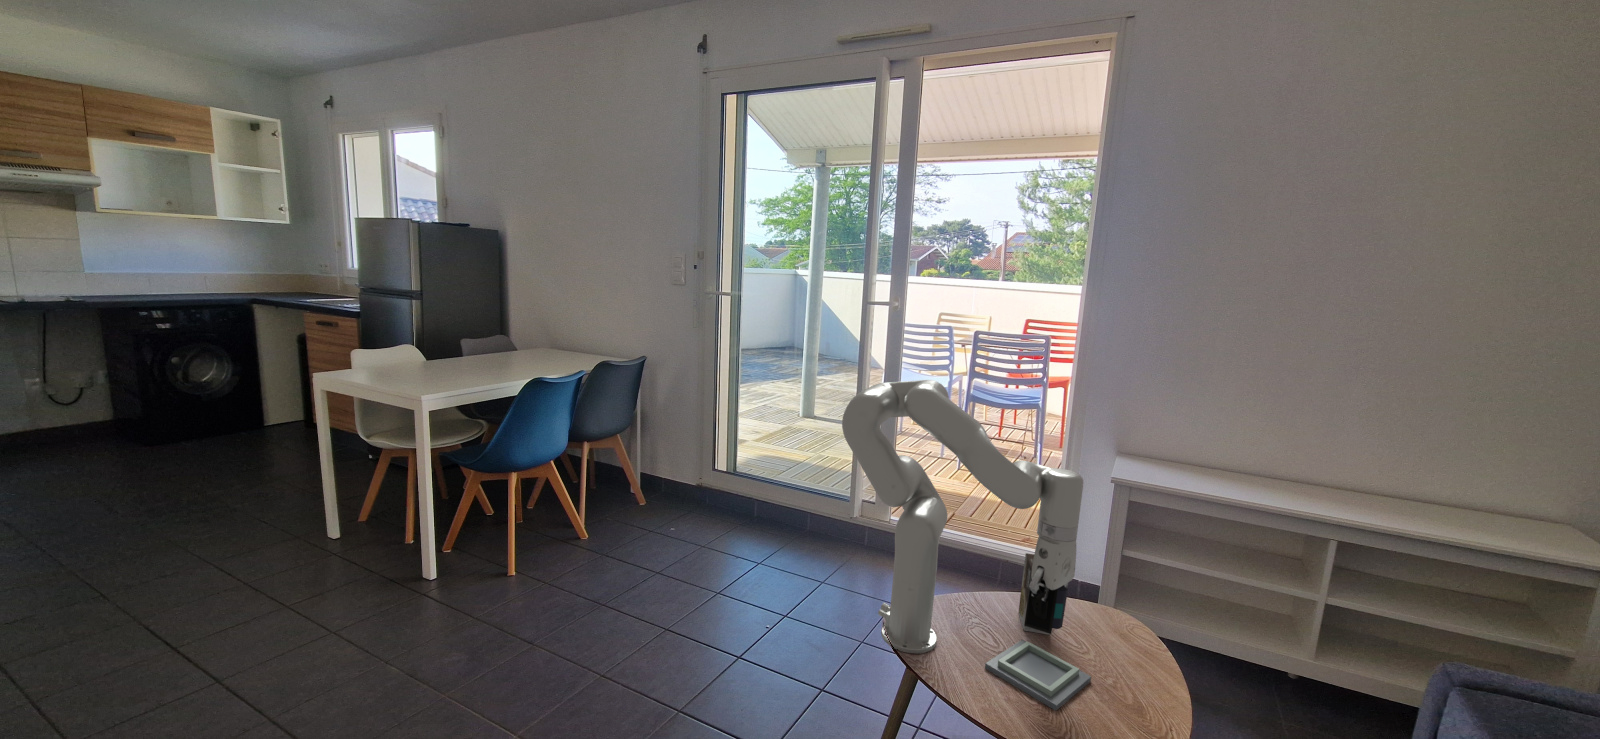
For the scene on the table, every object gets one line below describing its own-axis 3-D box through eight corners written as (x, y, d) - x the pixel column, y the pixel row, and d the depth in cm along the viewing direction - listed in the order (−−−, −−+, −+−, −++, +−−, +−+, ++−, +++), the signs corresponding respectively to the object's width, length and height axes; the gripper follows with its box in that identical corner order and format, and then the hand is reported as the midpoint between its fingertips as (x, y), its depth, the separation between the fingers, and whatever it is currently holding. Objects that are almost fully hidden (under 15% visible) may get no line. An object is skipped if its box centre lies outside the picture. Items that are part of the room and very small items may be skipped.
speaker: (1049, 637, 123) (1056, 587, 123) (1023, 625, 128) (1029, 576, 127) (1067, 629, 128) (1074, 580, 128) (1041, 617, 133) (1047, 570, 132)
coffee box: (1051, 635, 147) (1060, 572, 144) (1023, 631, 148) (1031, 568, 145) (1044, 615, 155) (1052, 555, 153) (1017, 611, 157) (1025, 551, 154)
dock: (984, 668, 133) (986, 658, 132) (1021, 644, 142) (1022, 634, 142) (1055, 710, 121) (1057, 699, 120) (1090, 681, 130) (1092, 671, 130)
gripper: (1053, 546, 118) (1043, 632, 121) (1094, 526, 129) (1084, 605, 132) (1018, 533, 123) (1008, 615, 126) (1060, 514, 135) (1050, 590, 137)
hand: (1047, 609), depth 129 cm, fingers closed on speaker, 6 cm apart
